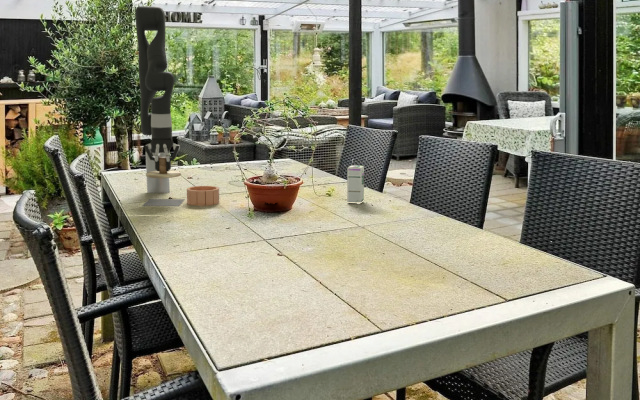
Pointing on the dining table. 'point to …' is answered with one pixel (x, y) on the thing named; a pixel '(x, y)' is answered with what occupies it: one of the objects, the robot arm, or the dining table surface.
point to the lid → (163, 171)
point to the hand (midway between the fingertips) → (163, 170)
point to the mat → (164, 202)
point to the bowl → (203, 195)
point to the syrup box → (355, 183)
